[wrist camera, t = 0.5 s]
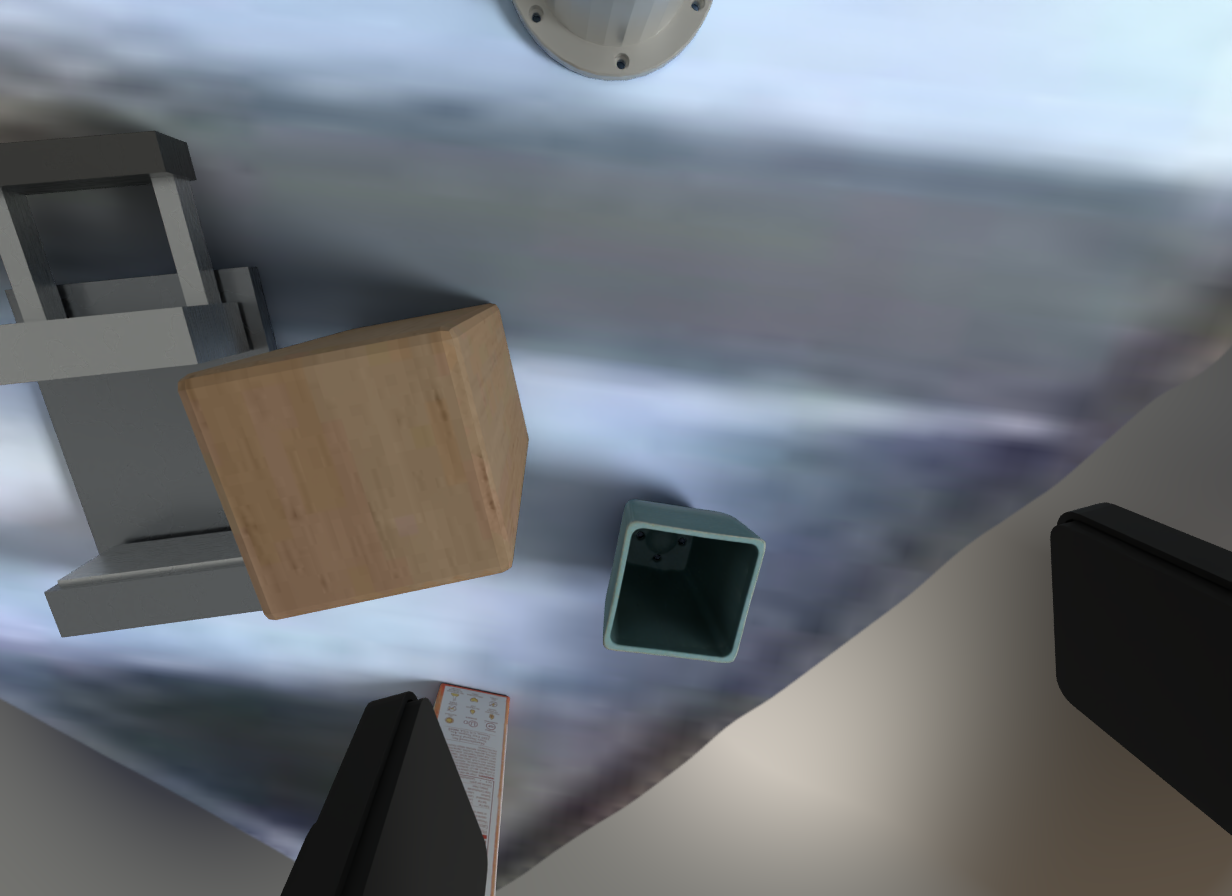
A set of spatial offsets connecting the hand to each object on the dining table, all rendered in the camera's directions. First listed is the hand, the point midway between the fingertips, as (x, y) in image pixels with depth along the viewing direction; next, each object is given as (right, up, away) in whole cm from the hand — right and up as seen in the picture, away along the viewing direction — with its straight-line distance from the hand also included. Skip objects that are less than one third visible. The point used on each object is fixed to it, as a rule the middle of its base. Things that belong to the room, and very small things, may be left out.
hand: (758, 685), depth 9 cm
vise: (-31, +4, +32) cm, 45 cm away
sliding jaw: (-32, +15, +28) cm, 45 cm away
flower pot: (+1, -3, +38) cm, 38 cm away
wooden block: (-14, +7, +33) cm, 37 cm away
